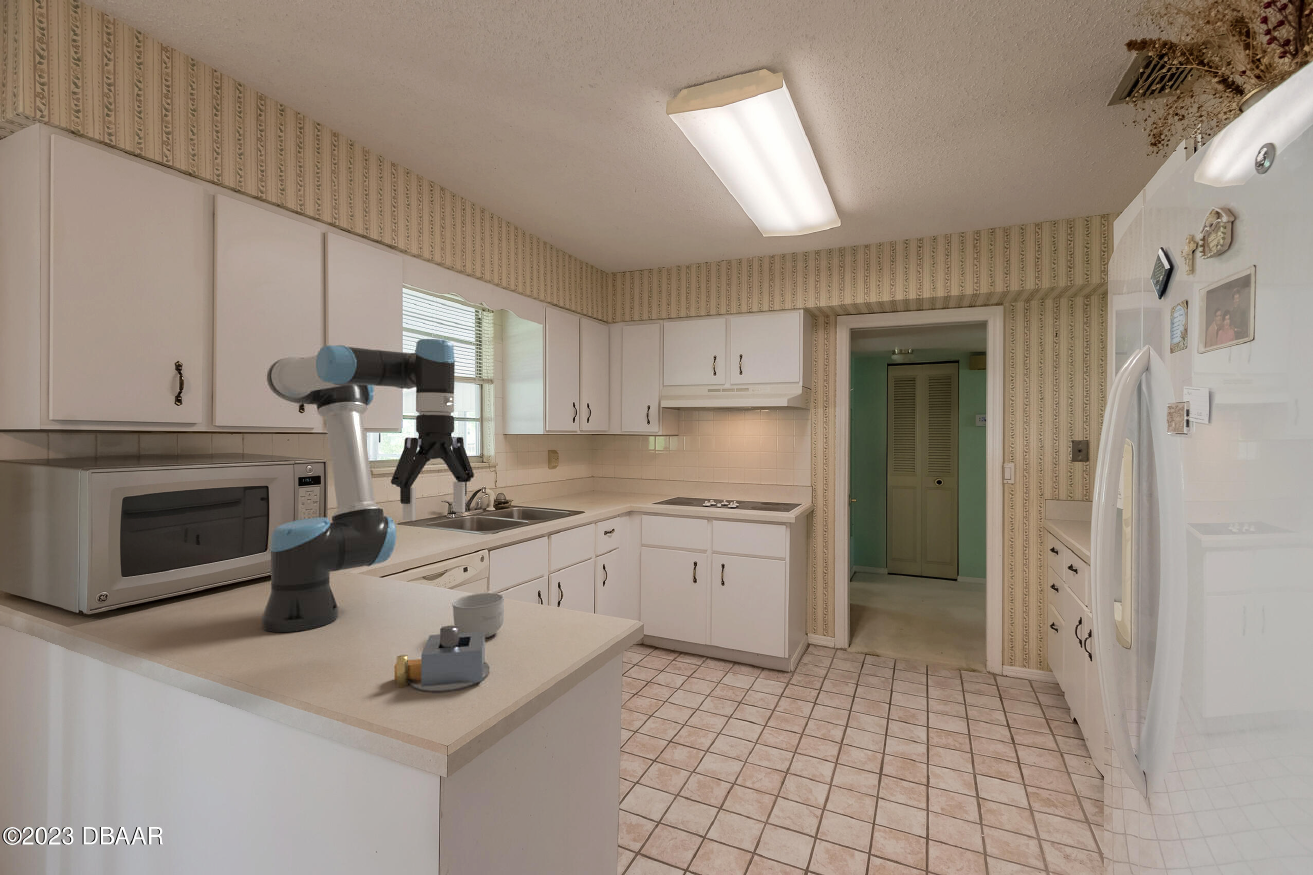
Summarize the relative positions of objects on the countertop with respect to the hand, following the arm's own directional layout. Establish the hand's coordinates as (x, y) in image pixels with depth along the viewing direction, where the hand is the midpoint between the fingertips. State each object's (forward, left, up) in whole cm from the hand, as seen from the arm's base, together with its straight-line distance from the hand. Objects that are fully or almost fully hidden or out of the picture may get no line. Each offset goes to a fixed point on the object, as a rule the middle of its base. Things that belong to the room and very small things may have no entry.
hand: (435, 515), depth 124 cm
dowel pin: (+11, -18, -27) cm, 34 cm away
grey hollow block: (+14, -12, -26) cm, 32 cm away
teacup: (+4, +9, -27) cm, 29 cm away
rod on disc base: (+15, -11, -27) cm, 33 cm away
